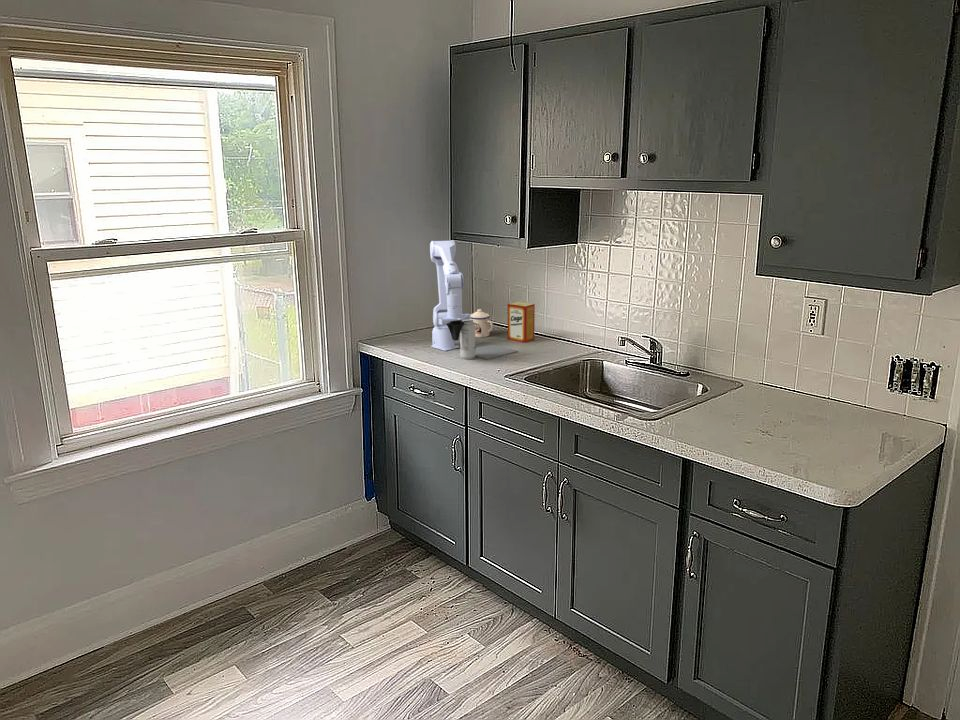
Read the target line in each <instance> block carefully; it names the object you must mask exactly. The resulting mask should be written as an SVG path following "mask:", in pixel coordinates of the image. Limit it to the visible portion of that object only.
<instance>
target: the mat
mask: <svg viewBox="0 0 960 720" xmlns="http://www.w3.org/2000/svg"><path fill="white" fill-rule="evenodd" d="M475 349H476V356H475V357H477V358H480V359H484V360H487V361H488V360H492V359H495V358H500V357H503V356H507V355H511V354H514V353H515V354H516V353H518V352H519V351H518V350H516V349H513V348H508V347H504V346H500V345H496V344H488V345H485V346H480V347H477V348H476V347H475Z"/></svg>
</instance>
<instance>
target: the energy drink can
mask: <svg viewBox="0 0 960 720" xmlns="http://www.w3.org/2000/svg"><path fill="white" fill-rule="evenodd" d="M462 321H463V322H464V325H463V327H462V329H461V331H460V335H459V350H460V351H459V353H460V357H461V359H463V360H473V359H475V357H476V337H475V324H474V322H473V320H470V319H466V320H462Z"/></svg>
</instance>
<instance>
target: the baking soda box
mask: <svg viewBox="0 0 960 720" xmlns="http://www.w3.org/2000/svg"><path fill="white" fill-rule="evenodd" d="M535 306H536V304H535V303H530V302H522V301H514V302H510V303H509V302H508V303H507V340H510V341H513V342H519V343H525V344H526V343H529V342H532V341H534V340H535V313H536V312H535V309H536V308H535Z"/></svg>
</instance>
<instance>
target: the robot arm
mask: <svg viewBox="0 0 960 720" xmlns="http://www.w3.org/2000/svg"><path fill="white" fill-rule="evenodd" d="M429 253H430V260H431V262H432V263H434V264H435V266H436V267H435V268H436V274H437V275H436V276H437V288H438V304H437V305H435V306H434V307H433V309H432V311H433V312H432V322H433V326H434V327H433V328H432V332H431V333H432V334H431V337H432V339H431V340H432V342H431V343H432V345H430V347H431V348H434V349H437V350H440V351H444V352H446V351H447V352H448V351H451V350H455V349H458V348H459V349H460V345H456V341H459V340H460V331H461V329H462V327H463V325H464V322H463V321H462V320H466V319H471V314H472V313H463V289H464V276H463V273H462V272H460V270H459V267H458V264H457V263H456V262H455V261H454V259H455V256H456V253H457V246H456V241H455V240H454V239H452V240H431V242H430V243H429Z"/></svg>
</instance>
